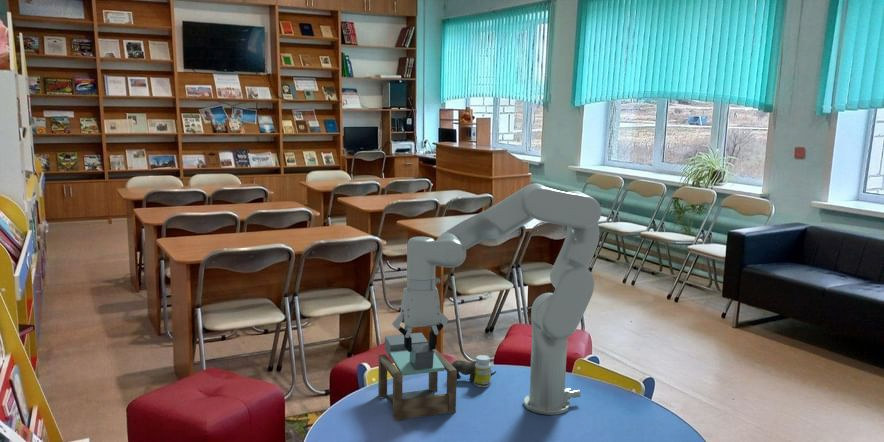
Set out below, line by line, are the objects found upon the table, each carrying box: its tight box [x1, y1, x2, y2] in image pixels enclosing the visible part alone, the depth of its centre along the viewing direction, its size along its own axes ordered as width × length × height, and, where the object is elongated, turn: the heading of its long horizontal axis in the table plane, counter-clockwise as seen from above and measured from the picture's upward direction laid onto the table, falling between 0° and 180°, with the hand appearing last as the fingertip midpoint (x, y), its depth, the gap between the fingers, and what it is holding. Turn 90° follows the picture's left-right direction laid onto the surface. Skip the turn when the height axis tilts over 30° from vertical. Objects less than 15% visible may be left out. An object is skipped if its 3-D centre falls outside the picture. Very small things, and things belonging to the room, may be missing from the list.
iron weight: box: [410, 342, 434, 370], centre depth 184 cm, size 5×5×5 cm
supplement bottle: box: [474, 354, 492, 388], centre depth 203 cm, size 5×5×8 cm
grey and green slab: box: [384, 332, 446, 377], centre depth 191 cm, size 12×19×4 cm, turn 20°
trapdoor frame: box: [377, 348, 457, 422], centre depth 188 cm, size 17×17×12 cm
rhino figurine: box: [451, 360, 497, 383], centre depth 206 cm, size 4×14×6 cm, turn 82°
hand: (420, 348), depth 184 cm, fingers open, 6 cm apart
